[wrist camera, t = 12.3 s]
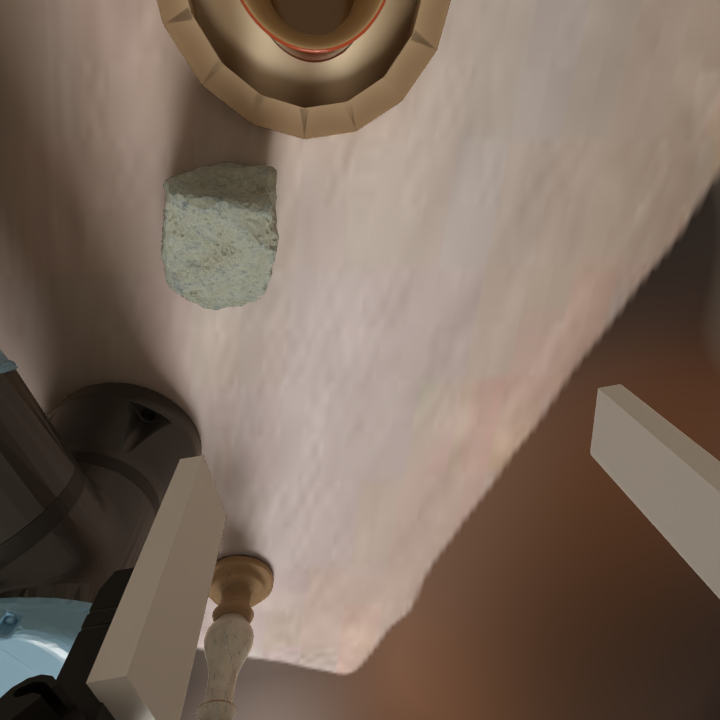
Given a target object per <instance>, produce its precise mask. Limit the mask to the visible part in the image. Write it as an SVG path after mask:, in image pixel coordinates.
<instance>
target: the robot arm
mask: <svg viewBox="0 0 720 720" xmlns="http://www.w3.org/2000/svg"><path fill="white" fill-rule="evenodd" d="M17 368H18V367H17V365H16V364H15V363H14V362H13V361H10V360H8V358H7V357H6V356H5V355H4V353H3V352H2V351H1V350H0V720H180V717H181V713H182V708H183V704H184V699H185V695H186V691H187V687H188V683H189V678H190V674H191V669H192V665H193V661H194V656H195V652H196V648H197V643H198V639H199V635H200V630H201V626H202V622H203V617H204V613H205V609H206V604H207V600H208V596H209V591H210V587H211V583H212V578H213V574H214V570H215V565H216V561H217V557H218V552H219V548H220V544H221V539H222V535H223V531H224V526H225V522H226V518H227V517H226V514H225V511H224V509H223V506H222V503H221V500H220V498H219V495H218V492H217V490H216V487H215V484H214V482H213V479H212V476H211V474H210V471H209V468H208V466H207V463H206V460H205V457H204V455H202V456H201V442H200V438H199V435H198V432H197V430H196V428H195V426H194V424H193V423H192V421H191V420H190V418H189V417H188V416H187V415H186V413H185V412H184V411H183V410H182V409H181V408H180V407H178V406H177V405H176V404H175V403H173V402H172V401H171V400H169V399H168V398H166V397H164V396H162V395H160V394H158V393H156V392H154V391H152V390H149V389H146V388H143V387H139V386H135V385H130V384H122V383H105V384H98V385H93V386H89V387H86V388H83V389H81V390H78V391H76V392H74V393H73V394H71V395H70V396H68V397H67V398H66V399H64V400H63V401H62V402H61V403H60V404H59V405H58V406H57V407H56V408H55V409H54V410H53V411H52V413H51V414H50V415H49V416H48V417H47V416H46V415H45V413H44V412H43V410H42V409H41V407H40V406H39V404H38V402H37V401H36V399H35V398H34V396H33V395H32V393H31V392H30V390H29V389H28V387H27V386H26V384H25V383H24V381H23V380H22V378H21V377H20V375H19V373H18V372H17V370H16V369H17ZM595 411H596V412H595V419H594V427H593V436H592V443H591V451H590V454H591V455H592V457H593V458H594V459H595V460H596V461H597V462H598V463H599V464H600V465H601V467H602V468H603V469H604V470H605V471H606V472H607V473H608V474H609V476H611V478H612V479H613V480H614V481H615V482H616V483H617V484H618V486H619V487H620V488H621V489H622V490H623V491H624V492H625V493H626V495H627V496H628V497H629V498H630V499H631V500H632V501H633V502H634V504H635V505H636V506H637V507H638V508H639V509H640V510H641V511H642V513H643V514H644V515H645V516H646V517H647V518H648V519H649V520H650V521H651V523H652V524H653V525H654V526H655V527H656V528H657V529H658V530H659V532H660V533H661V534H662V535H663V536H664V537H665V538H666V539H667V540H668V541H669V543H670V544H671V545H672V546H673V547H674V548H675V549H676V551H677V552H678V553H679V554H680V555H681V556H682V557H683V558H684V559H685V561H686V562H687V563H688V564H689V565H690V566H691V567H692V568H693V570H694V571H695V572H696V573H697V574H698V575H699V576H700V577H701V578H702V580H703V581H704V582H705V583H706V584H707V585H708V586H709V588H710V589H711V590H712V591H713V592H714V593H715V594H716V595H717V596H718V598H719V599H720V462H719V461H718V460H717V459H715V458H714V457H713V456H712V455H710V454H709V453H708V452H706V451H705V450H704V449H702V448H701V447H700V446H699V445H697V444H696V443H695V442H694V441H693V440H691V439H690V438H689V437H687V436H686V435H685V434H684V433H682V432H681V431H680V430H678V429H677V428H676V427H675V426H673V425H672V424H671V423H670V422H668V421H667V420H666V419H664V418H663V417H662V416H661V415H659V414H658V413H657V412H655V411H654V410H653V409H651V408H650V407H649V406H648V405H647V404H645V403H644V402H643V401H641V400H640V399H639V398H638V397H636V396H635V395H634V394H632V393H631V392H630V391H629V390H627V389H626V388H625V387H624V386H622V385H621V384H620V385H614V386H608V387H602V388H598V394H597V402H596V410H595Z"/></svg>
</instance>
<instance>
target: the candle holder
mask: <svg viewBox="0 0 720 720" xmlns="http://www.w3.org/2000/svg"><path fill="white" fill-rule="evenodd" d="M273 581H274V579H273V574H272V571H271V570H270V568H269V567H268V566H267V565H266V564H265V563H263V562H262V561H260V560H258V559H255V558H252V557H248V556H230V557H226V558H223V559H220V560H218V561H216V565H215V570H214V574H213V578H212V583H211V587H210V591H209V596H208V597H209V598H210V599H212V600H213V601H214V602H215V603H216V604H217V605H219V606H217V607H216V608H215V610H214V611H213V615H212V617H213V621H214V623H212V625H211V626H210V627H209V628H208V630H207V632H206V635H205V639H204V651H205V657H206V660H207V665H208V672H209V678H208V685H207V692H206V697H205V701H204V703H203V704H201V705H200V706H199V707H198V709H197V716H198V719H199V720H233V718H234V717H235V715H236V713H237V708H236V706H235V705H234V704H233V695H234V689H235V684H236V679H237V676H238V673H239V671H240V669H241V667H242V665H243V663H244V661H245V660H246V658H247V656H248V654H249V652H250V650H251V648H252V644H253V638H254V635H253V630H252V627H251V625H250V623H251V622H252V620H253V617H254V613H253V610H252V609H251V607H253V606H255V605H256V604H258V603H259V602H261V601H263V600H264V599H265V598H266V597H267V596H268V595H269V594H270V592H271V591H272V588H273Z"/></svg>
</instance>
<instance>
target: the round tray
mask: <svg viewBox="0 0 720 720" xmlns="http://www.w3.org/2000/svg"><path fill="white" fill-rule="evenodd" d="M450 2H451V0H386V2H385V4H384V6H383V8H382V10H381V12H380V14H379V15H378V17H377V18H376V20H375V21H374V23H373V24H372V25H371V26H370V28H369V29H368V30H367V31H366V32H365V33H364V34H363V35H361V36H360V37H359V38H358V39H356V40H355V41H354V42H353V43H352V45H351V46H350V47H349V48H348V49H347V50H346V51H345V52H344V53H342V54H341V55H339V56H337V57H335V58H333V59H331V60H328V61H325V62H319V63H311V62H305V61H301V60H298V59H296V58H294V57H292V56H290V55H288V54H287V53H286V52H284V51H283V50H282V49H280V48H279V47H278V46H277V45H276V44H275V43H274V41H273V40H272V39H271V38H270V36H269V35H268V34H266V33H265V32H264V31H263V30H262V29H261V28H260V27H259V26H258V25H257V24H256V23H255V22H254V20H253V19H252V18H251V17H250V15H249V14H248V13H247V11H246V10H245V8H244V7H243V5H242V3H241V1H240V0H157V3H158V7H159V11H160V14H161V18H162V22H163V24H164V27H165V28H166V30H167V31H168V33H169V34H170V36H171V37H172V39H173V41H174V42H175V44H176V45H177V47H178V48H179V50H180V51H181V53H182V55H183V56H184V58H185V59H186V61H187V62H188V64H189V65H190V67H191V69H192V70H193V72H194V73H195V75H196V76H197V78H198V79H199V81H200V83H201V84H202V85H203V86H204V87H205V88H206V89H208V90H209V91H210V92H212V93H213V94H214V95H215V96H217V97H218V98H219V99H220V100H222V101H223V102H224V103H226V104H227V105H228V106H229V107H231V108H232V109H233V110H234V111H236V112H237V113H238V114H240V115H241V116H242V117H243V118H245V119H246V120H247V121H248V122H250V123H251V124H254V125H257V126H261V127H264V128H268V129H271V130H275V131H278V132H281V133H285V134H288V135H292V136H295V137H299V138H302V139H304V138H305V139H310V138H316V137H323V136H330V135H336V134H342V133H349V132H355V131H357V130H359V129H360V128H362V127H363V126H365V125H366V124H368V123H369V122H371V121H372V120H374V119H375V118H377V117H378V116H380V115H381V114H383V113H385V112H386V111H388V110H389V109H391V108H392V107H394V106H395V105H397V104H398V103H400V102H401V101H402V100H403V99H404V97H405V96H406V95H407V93H408V92H409V90H410V89H411V87H412V86H413V84H414V83H415V81H416V80H417V79H418V77H419V76H420V74H421V73H422V71H423V70H424V68H425V67H426V66H427V64H428V63H429V61H430V60H431V58H432V57H433V55H434V54H435V52H436V50H437V49H438V45H439V41H440V38H441V34H442V31H443V27H444V23H445V20H446V16H447V13H448V9H449V5H450Z"/></svg>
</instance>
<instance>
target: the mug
mask: <svg viewBox="0 0 720 720" xmlns="http://www.w3.org/2000/svg"><path fill="white" fill-rule="evenodd" d="M240 1H241V3H242V5H243V7H244V8H245V10H246V11H247V13H248V14H249V15H250V17H251V18H252V19H253V20H254V22H255V23H256V24H257V25H258V26H259V27H260V28H261V29H262V30H263V31H264V32H265V33H266V34H268V35H269V36H270V38H271V39H272V40H273V41H274V43H275V44H276V45H277V46H278V47H279V48H280V49H282V50H283V51H284V52H286V53H287V54H288V55H290V56H292V57H294V58H296V59H298V60H301V61H305V62H311V63H319V62H325V61H328V60H331V59H333V58H335V57H337V56H339V55H341V54H342V53H344V52H345V51H346V50H347V49H348V48H349V47H350V46H351V45H352V43H353V42H354V41H355V40H356V39H358V38H359V37H360V36H361V35H363V34H364V33H365V32H366V31H367V30H368V29H369V28H370V26H371V25H372V24H373V23H374V21H375V20H376V18H377V17H378V15H379V14H380V12H381V10H382V8H383V6H384V4H385V2H386V0H240Z"/></svg>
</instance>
